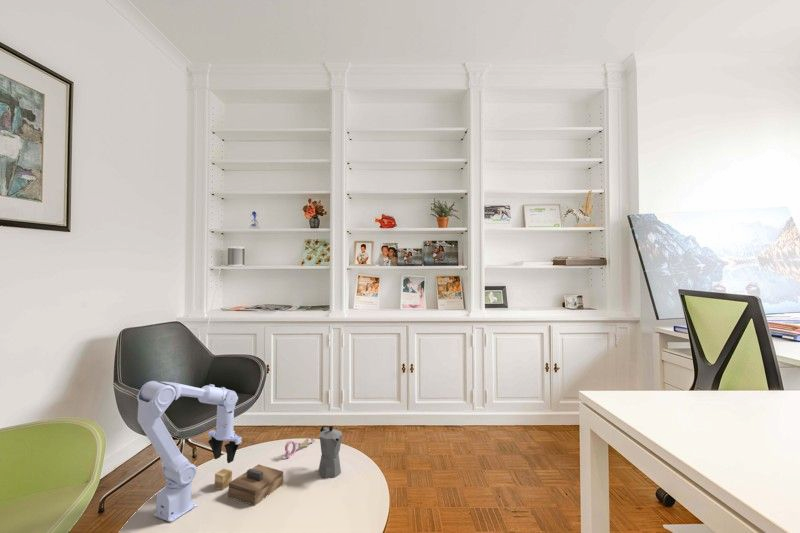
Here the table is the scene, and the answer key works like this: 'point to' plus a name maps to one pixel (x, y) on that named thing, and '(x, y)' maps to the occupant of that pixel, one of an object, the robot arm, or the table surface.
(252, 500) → the brown shallow open box
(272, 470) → the lid
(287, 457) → the decorative key
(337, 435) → the coffeepot
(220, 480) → the wooden block
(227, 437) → the robot arm
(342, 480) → the table surface
